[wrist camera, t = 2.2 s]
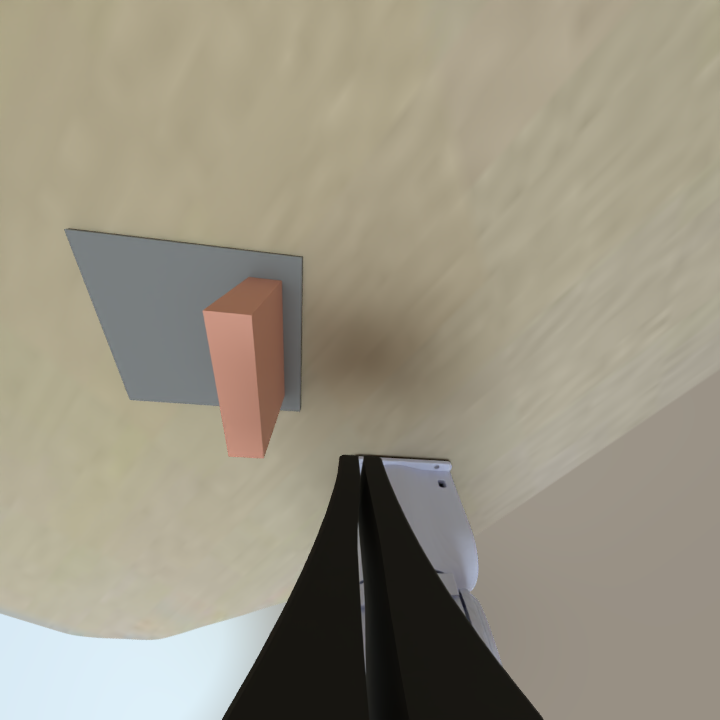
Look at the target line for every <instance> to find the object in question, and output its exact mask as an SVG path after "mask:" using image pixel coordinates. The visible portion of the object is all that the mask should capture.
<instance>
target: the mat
mask: <svg viewBox="0 0 720 720" xmlns="http://www.w3.org/2000/svg"><path fill="white" fill-rule="evenodd" d="M64 230H65V233H66V236H67V238H68V241H69V243H70V246H71V249H72V251H73V254H74V256H75V259H76V261H77V264H78V267H79V269H80V272H81V274H82V277H83V280H84V282H85V285H86V287H87V290H88V292H89V295H90V298H91V300H92V303H93V305H94V308H95V311H96V313H97V316H98V318H99V321H100V324H101V326H102V329H103V331H104V334H105V336H106V339H107V342H108V344H109V347H110V349H111V352H112V355H113V357H114V360H115V362H116V365H117V367H118V370H119V373H120V375H121V378H122V380H123V383H124V386H125V388H126V391H127V393H128V396H129V399H130V400H140V401H154V402H169V403H183V404H198V405H212V406H220V405H219V399H218V394H217V388H216V383H215V377H214V371H213V366H212V360H211V355H210V349H209V344H208V338H207V332H206V327H205V321H204V316H203V310H204V309H205V308H207V307H208V306H209V305H211V304H212V303H214V302H215V301H216V300H218V299H219V298H220V297H222V296H223V295H225V294H226V293H227V292H229V291H230V290H231V289H233V288H234V287H236V286H237V285H238V284H240V283H241V282H242V281H244V280H245V279H247V278H248V277H254V278H263V279H272V280H280V281H282V304H283V347H284V389H285V396H284V399H283V402H282V405H281V408H280V410H285V411H300V408H301V335H302V263H303V257H300V256H292V255H284V254H275V253H267V252H259V251H250V250H242V249H234V248H225V247H217V246H209V245H200V244H192V243H184V242H175V241H167V240H159V239H151V238H142V237H134V236H126V235H117V234H109V233H101V232H92V231H84V230H76V229H64Z"/></svg>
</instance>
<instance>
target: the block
mask: <svg viewBox="0 0 720 720" xmlns="http://www.w3.org/2000/svg"><path fill="white" fill-rule="evenodd" d="M203 316H204V321H205V327H206V332H207V338H208V344H209V349H210V355H211V360H212V366H213V371H214V377H215V383H216V388H217V394H218V399H219V405H220V411H221V416H222V422H223V427H224V433H225V439H226V444H227V450H228V455H229V457H248V458H264V456H265V453H266V450H267V447H268V444H269V441H270V438H271V435H272V432H273V429H274V426H275V423H276V420H277V417H278V414H279V411H280V408H281V405H282V402H283V399H284V396H285V389H284V347H283V304H282V281H280V280H272V279H263V278H254V277H248V278H247V279H245V280H244V281H242V282H241V283H240V284H238V285H237V286H236V287H234V288H233V289H231V290H230V291H229V292H227V293H226V294H225V295H223V296H222V297H220V298H219V299H218V300H216V301H215V302H214V303H212V304H211V305H209V306H208V307H207V308H205V309H204V310H203Z"/></svg>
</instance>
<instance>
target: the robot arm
mask: <svg viewBox="0 0 720 720" xmlns="http://www.w3.org/2000/svg"><path fill="white" fill-rule="evenodd" d="M451 468H452V465H451V463H450V462H449V461H436V460H418V459H400V458H381V457H372V456H364V457H363V456H354V455H342V456H340V458H339V466H338V474H337V478H336V482H335V486H334V490H333V493H332V496H331V499H330V502H329V505H328V508H327V511H326V514H325V517H324V519H323V522H322V525H321V527H320V530H319V532H318V535H317V538H316V540H315V542H314V545H313V547H312V550H311V552H310V554H309V556H308V559H307V561H306V563H305V565H304V567H303V570H302V572H301V574H300V576H299V578H298V580H297V582H296V584H295V586H294V589H293V591H292V593H291V595H290V597H289V599H288V601H287V603H286V605H285V607H284V609H283V611H282V613H281V615H280V616H279V618H278V620H277V622H276V624H275V626H274V628H273V630H272V631H271V633H270V635H269V637H268V639H267V641H266V643H265V645H264V646H263V648H262V650H261V652H260V654H259V656H258V657H257V659H256V661H255V663H254V665H253V667H252V668H251V670H250V672H249V674H248V675H247V677H246V679H245V680H244V682H243V684H242V685H241V687H240V689H239V691H238V692H237V694H236V696H235V698H234V699H233V701H232V703H231V705H230V706H229V708H228V710H227V711H226V713H225V715H224V717H223V719H222V720H543V718H542V716H541V715H540V714H539V713H538V711H537V710H536V709H535V708H534V706H533V705H532V704H531V702H530V701H529V700H528V699H527V697H526V696H525V695H524V694H523V693H522V691H521V690H520V689H519V688H518V686H517V685H516V684H515V683H514V681H513V680H512V679H511V677H510V676H509V675H508V673H507V672H506V671H505V670H504V668H503V666H502V663H501V659H500V656H499V653H498V650H497V647H496V644H495V641H494V638H493V635H492V632H491V629H490V626H489V624H488V621H487V618H486V616H485V613H484V611H483V609H482V606H481V604H480V602H479V601H478V599H477V598H476V597H475V596H473V595H472V594H471V593H470V592H469V591H472V590H473V588H474V587H475V585H476V582H477V577H478V555H477V549H476V544H475V539H474V536H473V532H472V529H471V527H470V524H469V521H468V519H467V516H466V513H465V511H464V508H463V505H462V503H461V500H460V497H459V495H458V492H457V489H456V487H455V484H454V481H453V479H452V476H451V473H450V470H451Z"/></svg>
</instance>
